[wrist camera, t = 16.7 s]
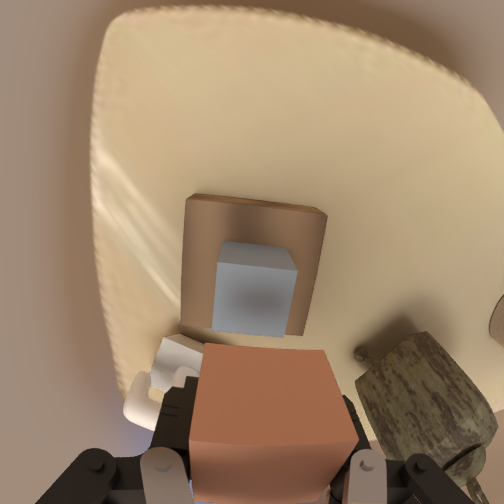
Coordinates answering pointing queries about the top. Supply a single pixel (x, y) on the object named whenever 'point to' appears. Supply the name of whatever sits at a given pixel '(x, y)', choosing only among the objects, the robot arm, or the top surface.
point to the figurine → (163, 377)
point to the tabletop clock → (428, 409)
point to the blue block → (253, 289)
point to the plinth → (252, 232)
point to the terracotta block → (267, 426)
